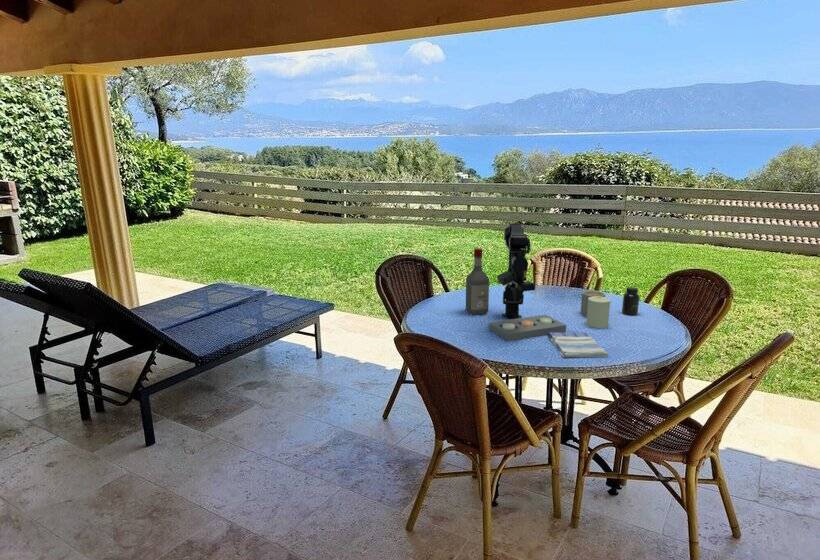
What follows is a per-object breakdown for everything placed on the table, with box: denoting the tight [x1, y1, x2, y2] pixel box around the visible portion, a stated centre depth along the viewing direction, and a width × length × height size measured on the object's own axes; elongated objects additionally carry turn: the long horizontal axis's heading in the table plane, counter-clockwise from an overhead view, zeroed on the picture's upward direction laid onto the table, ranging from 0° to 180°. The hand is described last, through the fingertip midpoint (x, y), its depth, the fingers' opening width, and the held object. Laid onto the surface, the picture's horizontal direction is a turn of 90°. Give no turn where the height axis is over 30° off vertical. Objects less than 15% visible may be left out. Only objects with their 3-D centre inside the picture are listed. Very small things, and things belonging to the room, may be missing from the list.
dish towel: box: [547, 331, 610, 358], centre depth 204 cm, size 17×24×3 cm
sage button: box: [540, 318, 552, 324], centre depth 224 cm, size 5×5×3 cm
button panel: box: [488, 314, 567, 342], centre depth 221 cm, size 15×28×3 cm, turn 110°
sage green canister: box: [585, 296, 612, 329], centre depth 227 cm, size 9×9×12 cm
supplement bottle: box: [621, 286, 640, 316], centre depth 241 cm, size 7×7×12 cm
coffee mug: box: [580, 289, 606, 318], centre depth 242 cm, size 13×10×10 cm
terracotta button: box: [521, 320, 534, 327], centre depth 221 cm, size 5×5×3 cm
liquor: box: [465, 248, 490, 316], centre depth 243 cm, size 9×9×30 cm
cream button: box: [502, 323, 515, 330], centre depth 218 cm, size 5×5×3 cm
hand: (516, 301), depth 219 cm, fingers closed
